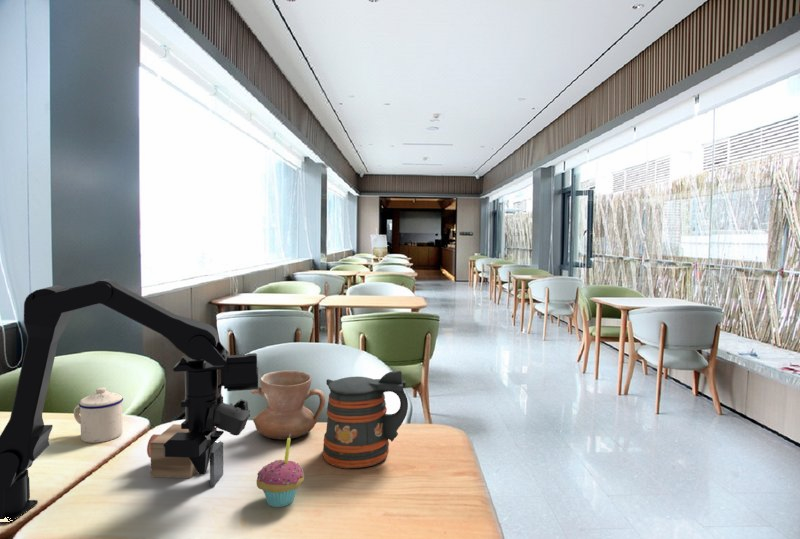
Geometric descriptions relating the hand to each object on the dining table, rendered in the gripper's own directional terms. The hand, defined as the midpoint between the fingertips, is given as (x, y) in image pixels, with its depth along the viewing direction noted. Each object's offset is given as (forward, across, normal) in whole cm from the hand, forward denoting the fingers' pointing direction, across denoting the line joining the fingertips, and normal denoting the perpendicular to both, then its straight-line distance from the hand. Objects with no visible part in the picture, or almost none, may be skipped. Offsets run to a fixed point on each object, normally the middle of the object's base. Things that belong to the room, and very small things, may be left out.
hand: (202, 473), depth 96 cm
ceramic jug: (+4, +30, -9) cm, 31 cm away
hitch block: (+4, +10, +9) cm, 14 cm away
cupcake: (+4, -2, -15) cm, 16 cm away
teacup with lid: (+4, +25, +36) cm, 44 cm away
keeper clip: (+4, +4, +2) cm, 6 cm away
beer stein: (+4, +18, -29) cm, 34 cm away
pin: (+2, +10, +8) cm, 13 cm away
